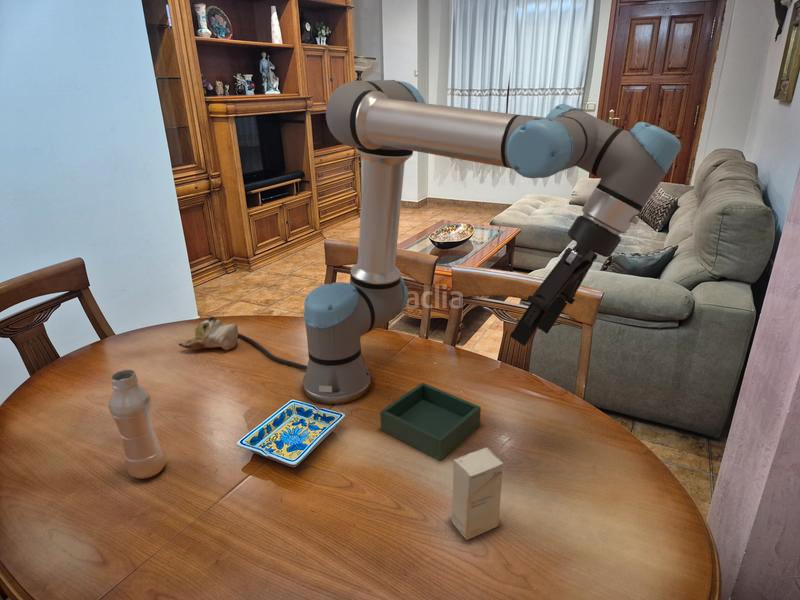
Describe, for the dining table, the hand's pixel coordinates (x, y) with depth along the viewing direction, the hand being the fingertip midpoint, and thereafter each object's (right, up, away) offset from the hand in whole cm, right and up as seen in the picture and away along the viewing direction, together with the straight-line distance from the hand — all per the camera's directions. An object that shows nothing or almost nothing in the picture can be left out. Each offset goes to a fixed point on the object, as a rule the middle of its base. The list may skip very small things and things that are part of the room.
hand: (529, 334), depth 87 cm
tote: (-16, -20, +15) cm, 30 cm away
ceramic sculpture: (-72, -7, +49) cm, 87 cm away
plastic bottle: (-68, -25, +5) cm, 72 cm away
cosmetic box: (-10, -29, -7) cm, 32 cm away
